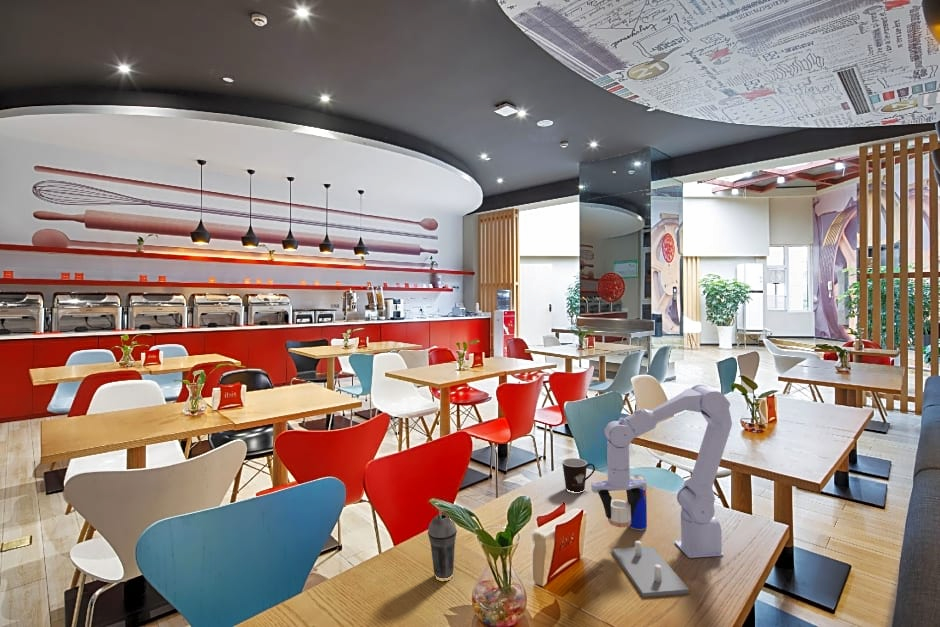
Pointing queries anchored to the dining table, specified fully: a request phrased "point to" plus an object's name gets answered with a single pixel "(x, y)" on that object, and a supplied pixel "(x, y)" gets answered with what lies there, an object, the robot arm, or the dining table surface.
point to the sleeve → (620, 513)
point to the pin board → (649, 571)
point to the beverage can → (639, 508)
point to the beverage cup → (442, 545)
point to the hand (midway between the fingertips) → (619, 516)
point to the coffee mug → (575, 473)
